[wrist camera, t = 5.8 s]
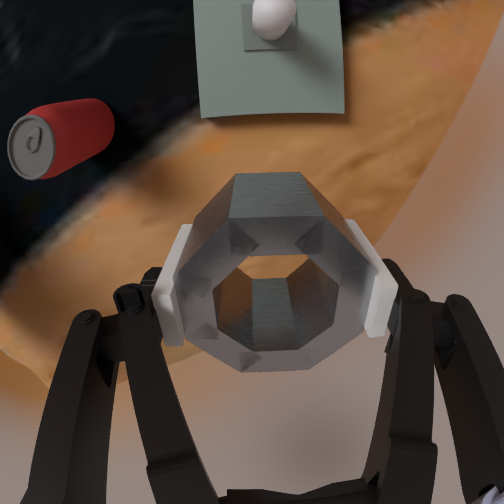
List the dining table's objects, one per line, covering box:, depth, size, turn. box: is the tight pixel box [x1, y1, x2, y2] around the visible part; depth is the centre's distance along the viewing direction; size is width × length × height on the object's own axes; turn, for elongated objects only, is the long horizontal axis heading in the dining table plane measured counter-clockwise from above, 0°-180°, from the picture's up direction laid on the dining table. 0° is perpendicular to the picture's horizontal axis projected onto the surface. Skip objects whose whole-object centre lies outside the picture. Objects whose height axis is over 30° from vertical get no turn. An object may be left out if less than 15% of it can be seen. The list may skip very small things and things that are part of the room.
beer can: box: [8, 98, 115, 180], centre depth 25 cm, size 7×7×12 cm
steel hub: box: [172, 172, 377, 372], centre depth 15 cm, size 8×8×6 cm
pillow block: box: [193, 0, 344, 118], centre depth 22 cm, size 14×18×9 cm
